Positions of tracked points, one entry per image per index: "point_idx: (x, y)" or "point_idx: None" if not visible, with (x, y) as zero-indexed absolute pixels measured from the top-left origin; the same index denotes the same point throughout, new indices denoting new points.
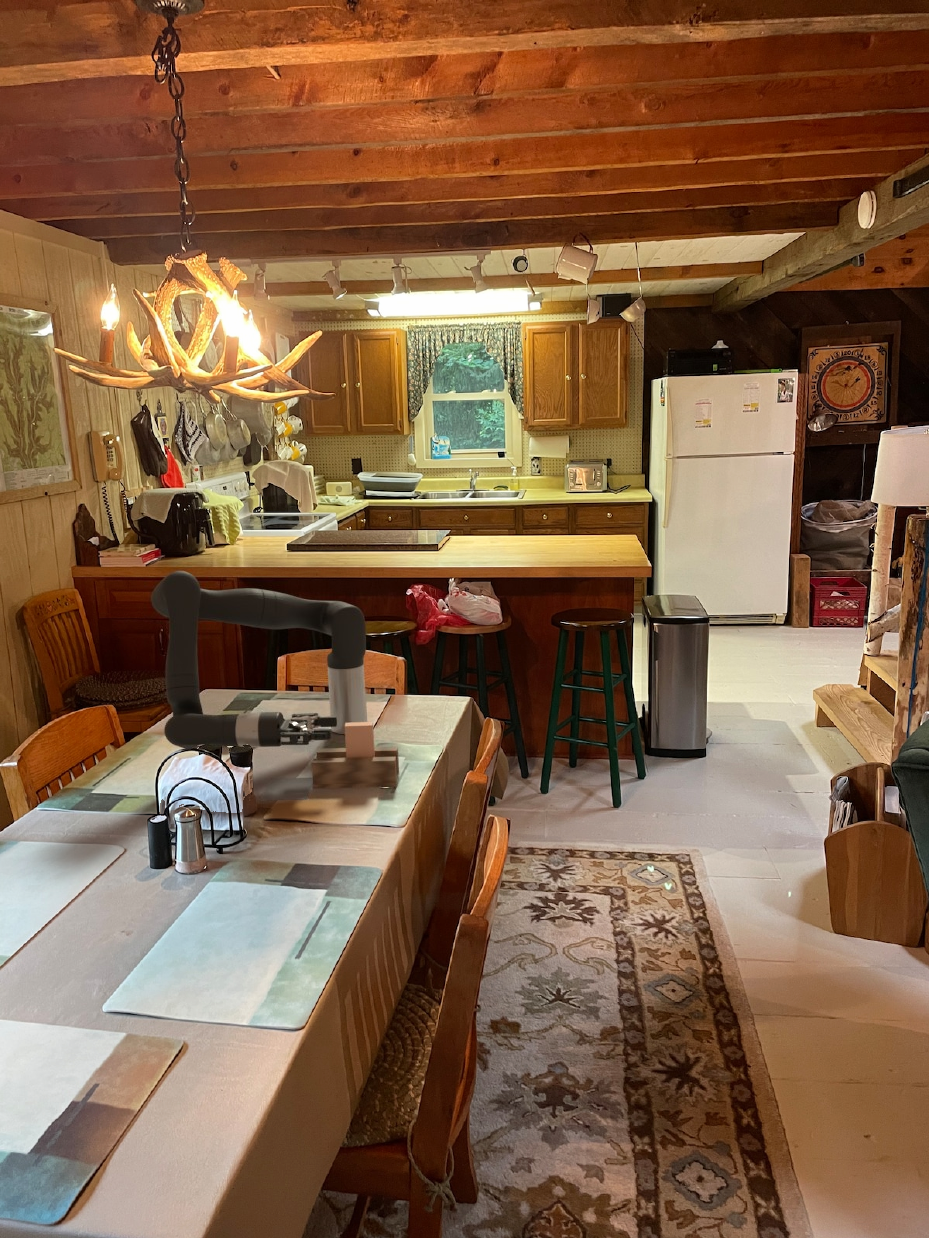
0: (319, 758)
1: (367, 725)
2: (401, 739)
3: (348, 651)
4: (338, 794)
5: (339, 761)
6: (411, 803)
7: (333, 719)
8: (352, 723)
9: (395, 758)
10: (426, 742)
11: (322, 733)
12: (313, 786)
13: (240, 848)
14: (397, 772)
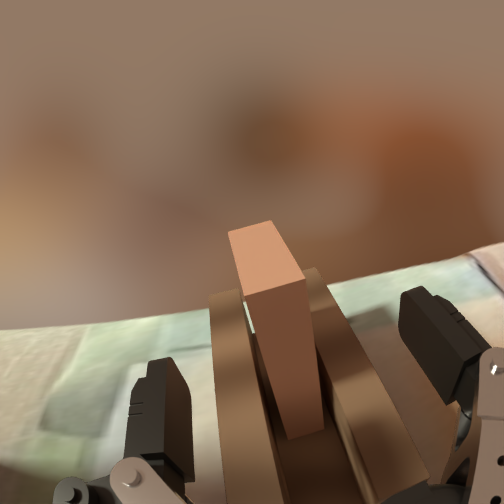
0: (371, 474)
1: (274, 228)
2: (36, 389)
3: None
4: (412, 419)
5: (377, 384)
6: (386, 276)
7: (173, 375)
8: (254, 271)
9: None
10: (68, 347)
11: (458, 312)
12: None
13: None
14: None
